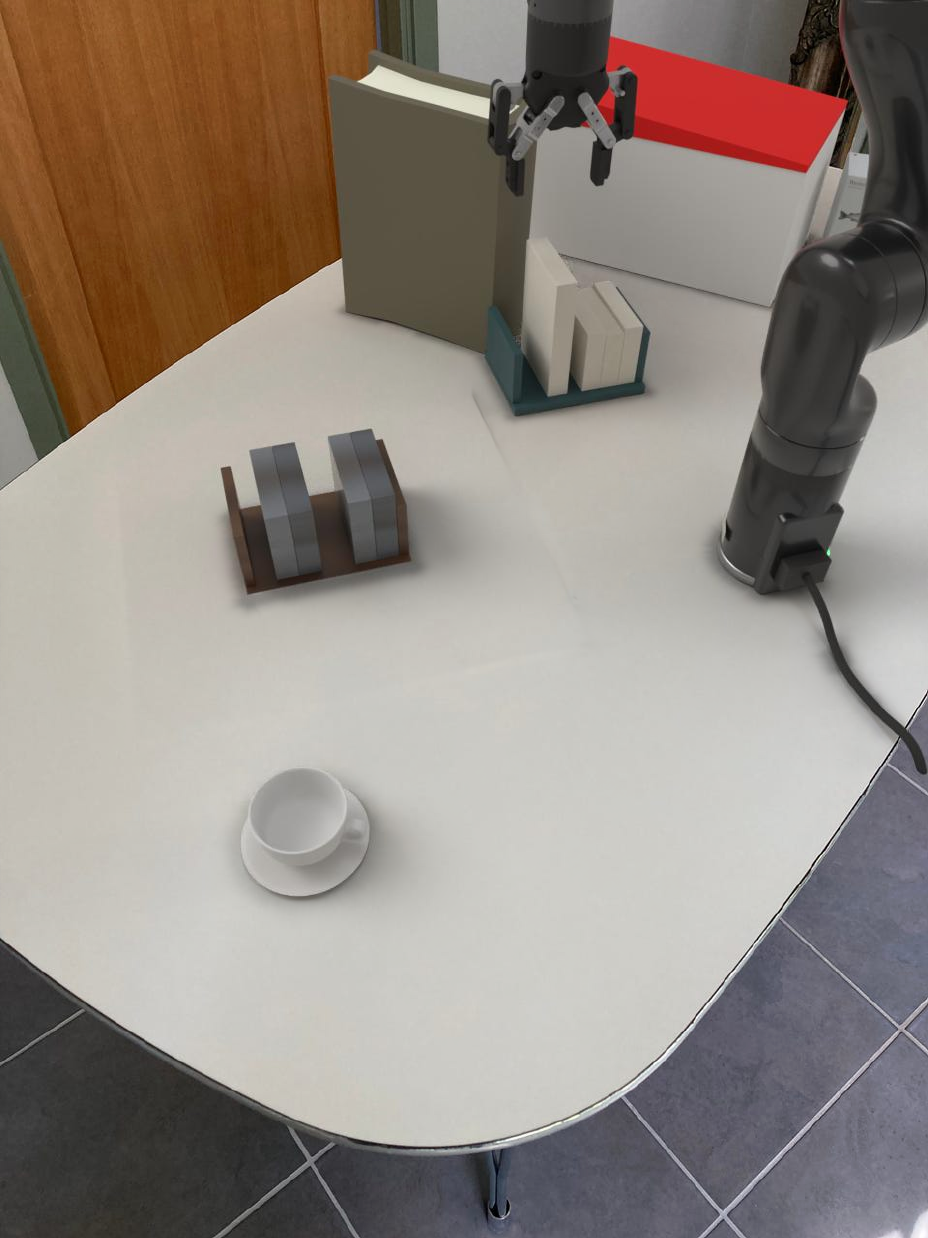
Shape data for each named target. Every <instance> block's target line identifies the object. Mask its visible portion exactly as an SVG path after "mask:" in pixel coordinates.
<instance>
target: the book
mask: <svg viewBox="0 0 928 1238" xmlns="http://www.w3.org/2000/svg"><path fill="white" fill-rule="evenodd" d="M367 63H368V64H367V65H368V66H367V67H368V74H367V75H366V76H364V77H363V78H362V79H359V80H353V79H350V78H348V77H344V76H342V75H339V74H337V73H334V74H332V75H331V76H329V77H328V78H327V82H328V84H327V85H328V95H329V109H330V121H331V133H332V134H331V135H332V148H333V161H334V175H335V188H336V201H337V213H338V214H337V215H338V226H339V238H340V254H341V265H342V267H341V268H342V278H343V292H344V305H345V313H350V314H354V315H359V316H360V315H361V316H364V317H369V318H375V319H379V320H385V321H389V322H392V323H394V324H395V323H396V324H398V325H402V326H404V327H407V328H410V329H413V330H416V331H419V332H422V333H425V334H428V335H431V336H434V337H437V338H440V339H443V340H446V341H449V342H450V343H454V344H457V345H459V346H462V347H465V348H467V349H470V350H473V351H476V352H478V353H481V354H483V355H485V351H486V350H487V338H488V307H490V306H497V308H498V310H499V312H500V313H501V315H502V317H503V319H504V320H505V322H506V324H507V326H508V328H509V329H510V331H511V333H512V335H513V336H514V337H515V336H516V335H517V333H518V332H519V330H520V326H521V325H522V315H523V297H524V278H525V260H526V242H527V240H528V239H529V234H530V222H531V210H532V198H533V187H534V175H535V163H536V151H537V141H536V142H533V143H532V145H531V146H530V148H529V149H528V150H527V152H526V153H525V155H524V156H523V158H524V159H525V177H524V195H523V196H520V197H515V195H514V194H513V192H511V191H510V189H509V188H508V186H507V184H506V182H505V171H506V156H504V155H502V156H498V155H496V154H495V152H494V151H493V149H492V148H491V147H490V145H489V144H488V142H487V135H488V121H489V107H490V93H491V84H490V83H485V82H479V81H475V80H471V79H468V78H463V77H460V76H455V75H451V74H447V73H443V72H439V71H436V70H435V71H434V70H431V69H426V68H422V67H420V66H417V65H416V64H412V63H410V62H407V61H405V60H402V59H400V58H397V57H394V56H393V55H390V54H387V53H384V52H382V51H380V50H377V49H372V50H371V51H369V52H367ZM526 105H527V104H526V102H525V101H524V99H523V98H522V97H520V98H519V99H518V100H517V102H516V105H515V107H514V109H512V110H510V115H509V127H508V137H509V135H510V134H511V132H512V131H513V129H514V128H515V126H516V122H517V119H518V117H519V116H520V114H521V113H522V111H523V110H524V108H525V107H526ZM535 119H536V118H534V120H535ZM534 120H533V122H534ZM533 122H532V123H533Z"/></svg>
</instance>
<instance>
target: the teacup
mask: <svg viewBox="0 0 928 1238" xmlns="http://www.w3.org/2000/svg"><path fill="white" fill-rule="evenodd" d="M247 810H248V812H247V817H246V819H245V821H244V824H243V827H242V830H241V835H240V853H241V857H242V861H243V863H244V865H245V868H246V869H247V871H248V872H249V874H250V875H251V877H252V878H253V879H254V880H255V881H257V883H259V885H261V886H263V887H264V888H266V889H267V890H269V891H272V892H274V893H276V894H280V895H284V896H290V897H307V896H313V895H318V894H321V893H324V892H326V891H329V890H331V889H332V888H335V887H337V886H338V885H340V884H341V883H342V882H344V881H346V879H348V878H349V877H350V876H351V875H352V874H353V873H354V872H355V871H356V870H357V869H358V867H359V866H360V864H361V863H362V861H363V859H364V857H365V855H366V853H367V850H368V846H369V843H370V836H371V835H370V834H371V833H370V832H371V828H370V821H369V817H368V814H367V812H366V809H365V807H364V806H363V804H362V803H361V802H360V800H359V798H358V797H357V796H355V795H354V794H353V793H352V792H351V791H350V790H348V789H347V788H345V787H344V786H343V784H342V783H341V782H340V781H339V779H338V778H337V777H335V776H334V775H333V774H331V773H329V772H328V771H326V770H324V769H322V768H319V767H315V766H309V765H308V766H307V765H303V766H302V765H300V766H291V767H288V768H285V769H283V770H280V771H278V772H275V773H273V774H272V775H270V776H269V777H268V778H266V780H264V781H263V782H262V783H261V784H260V785H259V786H258V788H257V789H256V790H255V791H254V794H253V795H252V797H251V799H250V802H249V806H248V809H247Z"/></svg>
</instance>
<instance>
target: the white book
mask: <svg viewBox="0 0 928 1238" xmlns="http://www.w3.org/2000/svg"><path fill="white" fill-rule="evenodd" d="M578 289H579V281H578V280H577V279H576V277H575V276H574V274H573V273H572V271H571V269H570V268H569V266H568V265H567V264H566V263H565V261H564V260H563V258H562V257H561V254H559V253H558V252H557V251H556V250H555V248H554V247H553V245H552V244H551V242H550V241H549V239H548V238H547V237H542V238H535V239H528V240H527V242H526V260H525V278H524V297H523V315H522V321H521V335H520V345H521V350H522V352H523V354H524V356H525V357H526V359H527V361H528V363H529V365H530V366H531V368H532V370H533V372H534V373H535V375H536V377H537V379H538V380H539V382H540V384H541V386H542V388H543V389H544V391H545V393H546V395H547V396H548V397H550V396H556V395H561V394H567V389H568V379H569V369H570V359H571V349H572V340H573V330H574V320H575V310H576V300H577V290H578Z"/></svg>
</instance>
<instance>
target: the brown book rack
mask: <svg viewBox="0 0 928 1238" xmlns="http://www.w3.org/2000/svg"><path fill="white" fill-rule="evenodd" d="M327 442H328V451H329V458H330V466H331V473H332V480H333V487H334V488H333V489H334V491H329V492H323V493H318V494H312V495H309V491H308V487H307V484H306V480H305V476H304V472H303V468H302V464H301V460H300V457H299V453H298V450H297V446H296V442H295V441H292V442H287V443H281V444H275V445H272V446H270V445H269V446H264V447H257V448H253V449H252V448H251V449H249V450H248V452H249V457H250V462H251V466H252V471H253V475H254V480H255V484H256V489H257V494H258V498H259V504H258V505H253V506H249V507H244V508H243V507H242V508H241V503H240V499H239V495H238V491H237V487H236V482H235V478H234V473H233V469H232V466H231V465H228V466H222V467H220V474H221V478H222V485H223V490H224V494H225V501H226V506H227V507H226V508H227V510H228V518H229V524H230V528H231V533H232V534H231V535H232V539H233V542H234V543H233V544H234V548H235V551H236V554H237V559H238V563H239V567H240V569H241V574H242V578H243V582H244V586H245V590H246V591H245V592H246V595H253V594H257V593H262V592H263V593H264V592H267V591H273V590H277V589H282V588H287V587H292V586H297V585H302V584H306V583H310V582H312V583H313V582H317V581H323V580H327V579H331V578H336V577H343V576H346V575H352V574H356V573H362V572H366V571H372V570H375V569H381V568H385V567H386V568H387V567H390V566H395V565H400V564H406V563H411V562H412V561H413V560H412V558H411V554H410V541H409V523H408V508H407V507H408V506H407V502H406V500H405V497H404V493H403V491H402V489H401V486H400V482H399V480H398V478H397V475H396V472H395V470H394V466H393V464H392V461H391V457H390V455H389V452H388V450H387V447H386V444H385V441H384V439H383V438H379V439H376V437H375V433H374V431H373V428H366V429H361V430H355V431H350V432H344V433H339V434H331V435H328V436H327Z"/></svg>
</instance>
